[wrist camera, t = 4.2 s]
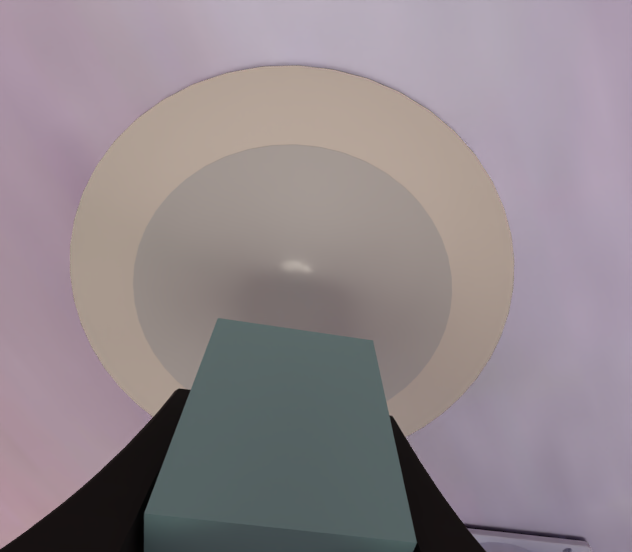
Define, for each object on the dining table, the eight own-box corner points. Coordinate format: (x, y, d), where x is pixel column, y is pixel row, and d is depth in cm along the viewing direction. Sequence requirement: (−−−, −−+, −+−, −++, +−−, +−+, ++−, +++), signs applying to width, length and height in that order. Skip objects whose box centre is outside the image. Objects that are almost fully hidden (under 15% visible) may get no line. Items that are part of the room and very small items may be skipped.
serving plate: (578, 115, 16) (592, 118, 15) (436, 469, 23) (441, 483, 23) (63, 18, 14) (49, 16, 14) (90, 427, 22) (81, 441, 21)
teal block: (372, 340, 13) (416, 543, 7) (342, 451, 15) (359, 676, 9) (217, 318, 12) (144, 512, 7) (207, 434, 14) (143, 659, 9)
